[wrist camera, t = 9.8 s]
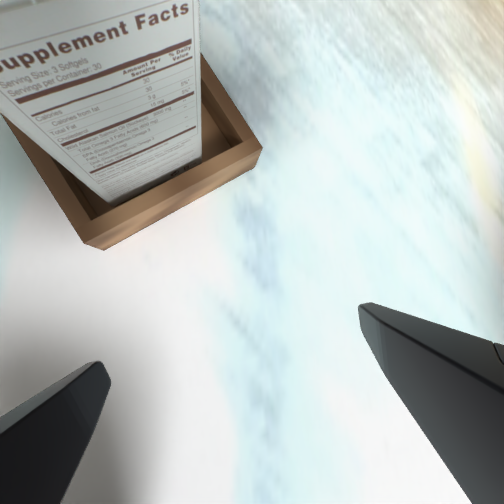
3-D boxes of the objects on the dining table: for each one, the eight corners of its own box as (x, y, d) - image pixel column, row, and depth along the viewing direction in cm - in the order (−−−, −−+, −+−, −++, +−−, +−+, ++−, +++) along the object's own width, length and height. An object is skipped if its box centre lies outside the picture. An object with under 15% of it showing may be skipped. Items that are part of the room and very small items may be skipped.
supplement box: (57, 121, 17) (-298, -276, 5) (156, 84, 19) (66, -282, 7) (111, 211, 17) (-121, 26, 5) (205, 166, 19) (206, -57, 7)
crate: (104, 250, 18) (83, 243, 15) (5, 97, 18) (-34, 60, 15) (254, 167, 21) (262, 147, 18) (169, 36, 21) (163, -5, 18)
